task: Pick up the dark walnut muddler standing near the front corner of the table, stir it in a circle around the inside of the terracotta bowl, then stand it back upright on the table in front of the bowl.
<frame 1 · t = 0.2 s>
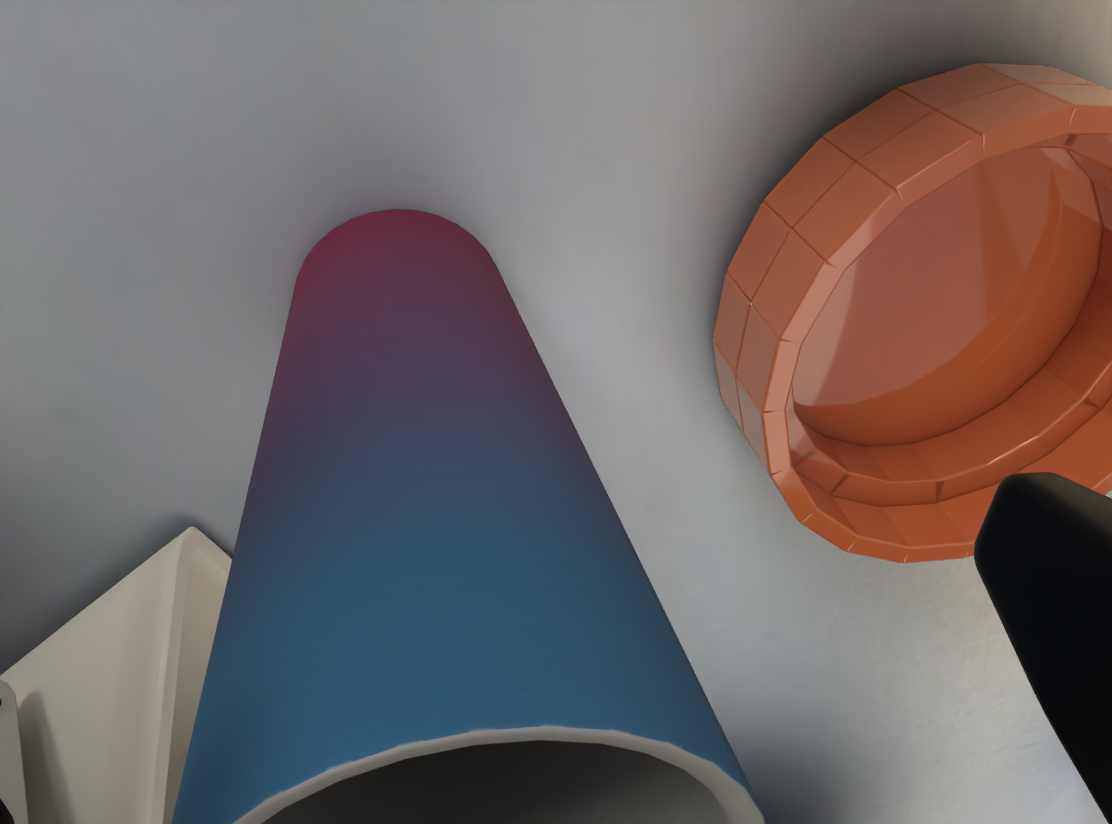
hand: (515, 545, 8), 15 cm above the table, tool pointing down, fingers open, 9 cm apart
bowl: (924, 293, 25), on the table
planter: (64, 780, 29), on the table, touching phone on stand
cup: (400, 303, 23), on the table
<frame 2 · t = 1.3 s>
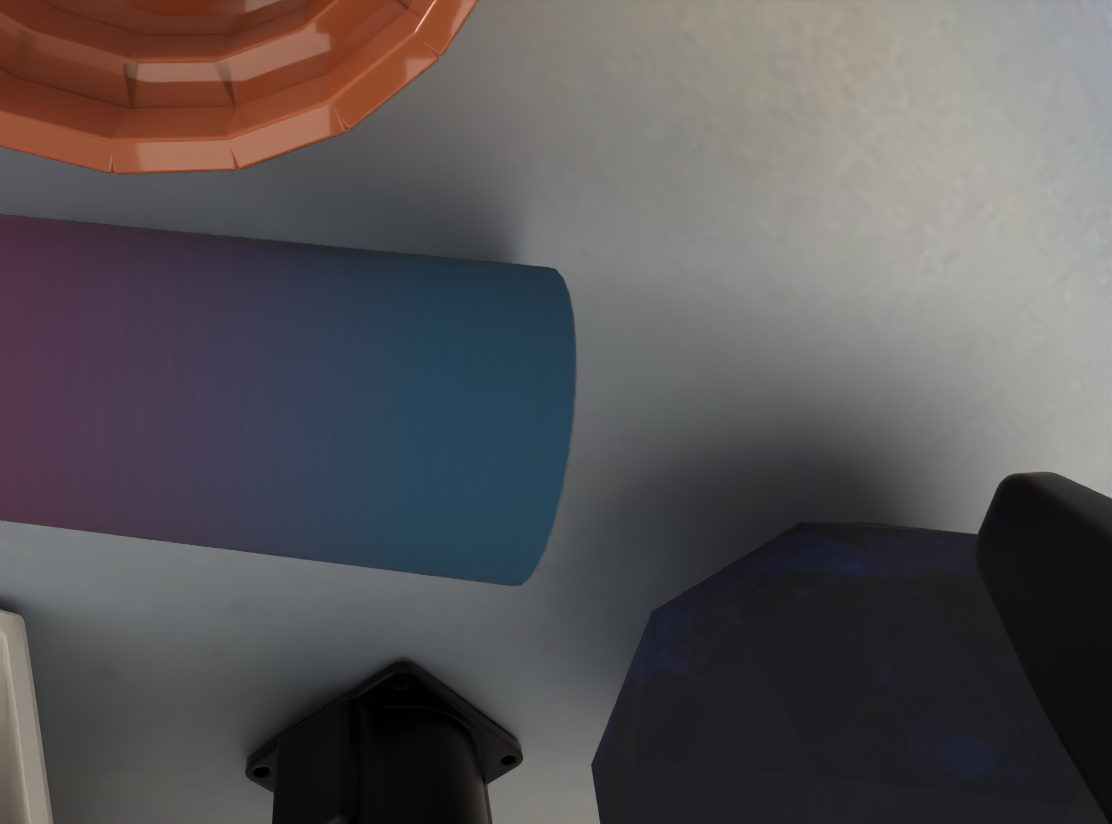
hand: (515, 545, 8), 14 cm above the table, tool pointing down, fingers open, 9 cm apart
decorative orb: (770, 601, 30), on the table
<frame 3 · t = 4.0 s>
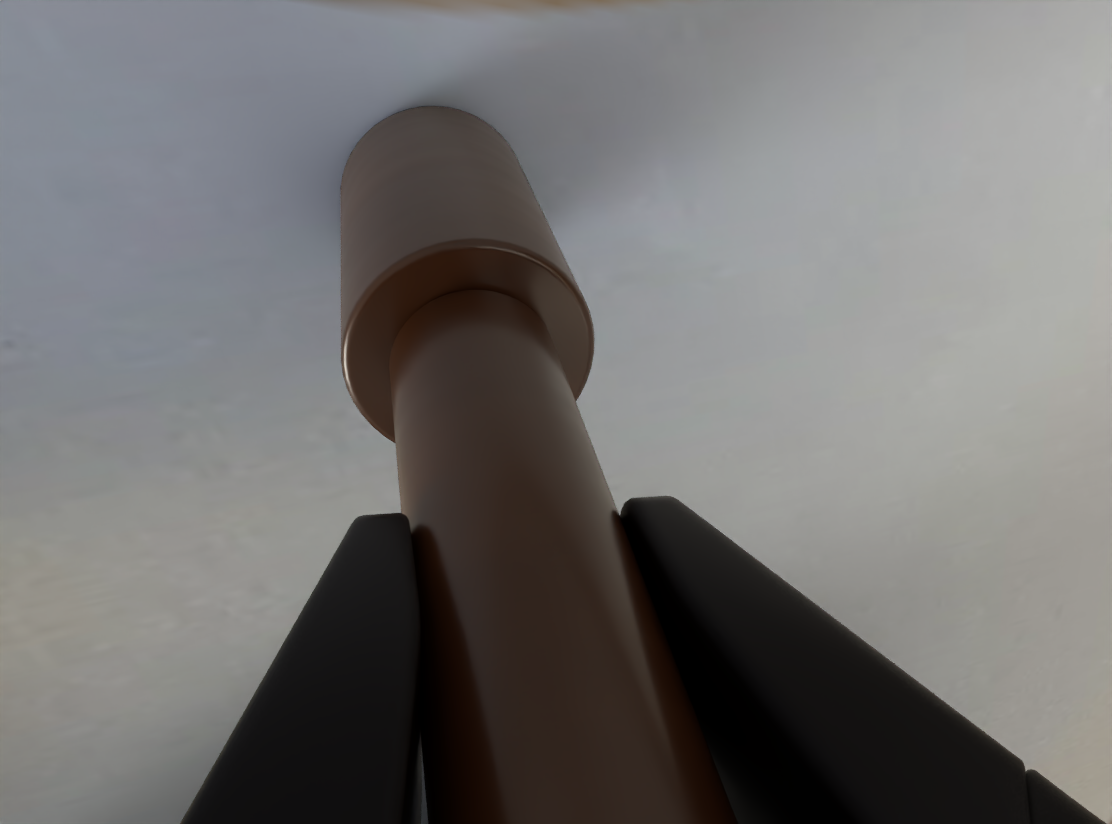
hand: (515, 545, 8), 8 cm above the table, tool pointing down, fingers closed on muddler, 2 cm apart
muddler: (434, 196, 14), on the table, touching gripper
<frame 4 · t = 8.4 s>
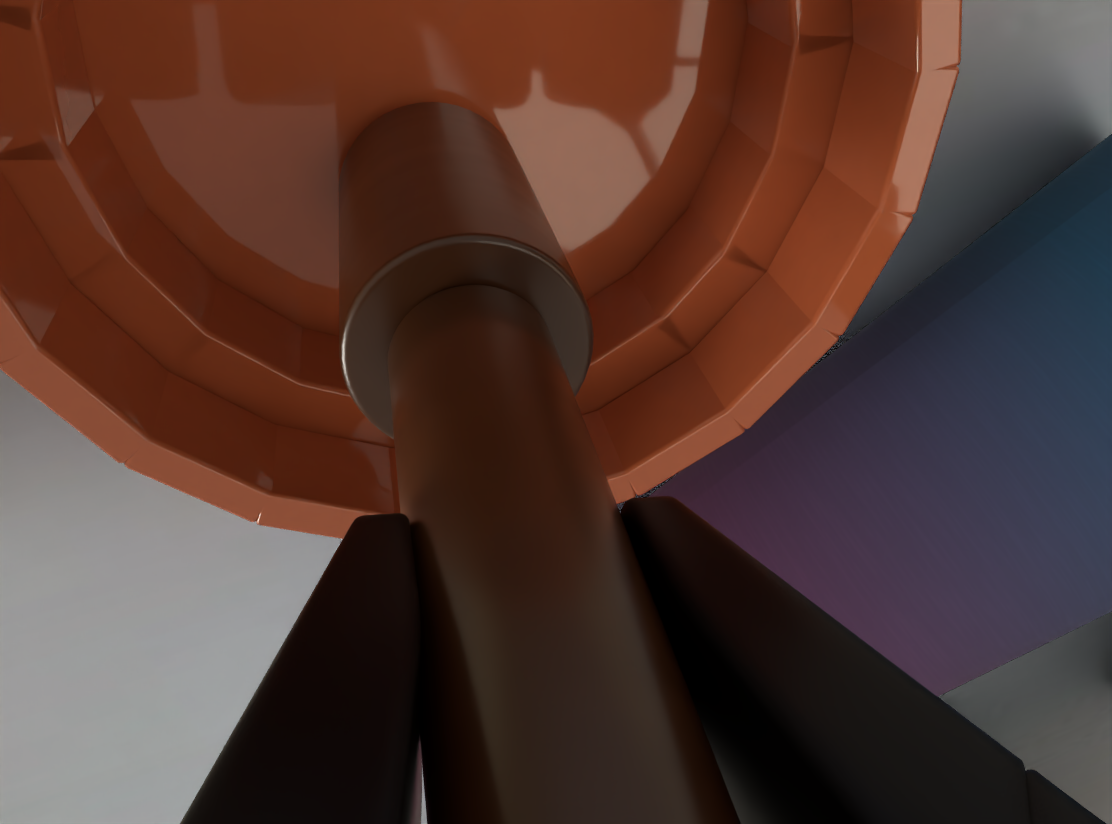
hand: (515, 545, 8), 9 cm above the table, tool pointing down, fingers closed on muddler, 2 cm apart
bowl: (431, 54, 14), on the table
muddler: (432, 193, 14), point 1 cm above the table, touching gripper
cup: (542, 738, 19), point 3 cm above the table
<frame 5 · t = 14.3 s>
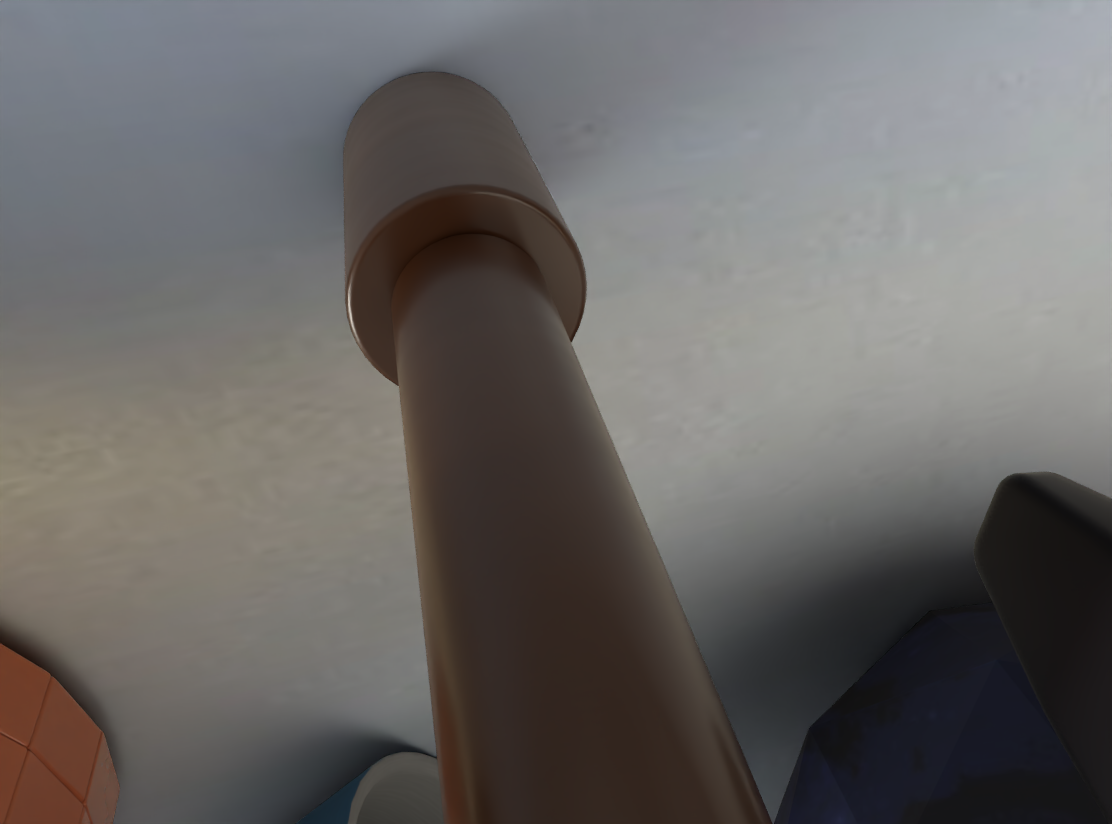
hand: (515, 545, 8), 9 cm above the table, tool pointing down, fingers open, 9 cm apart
muddler: (433, 161, 15), on the table
decorative orb: (935, 675, 25), on the table
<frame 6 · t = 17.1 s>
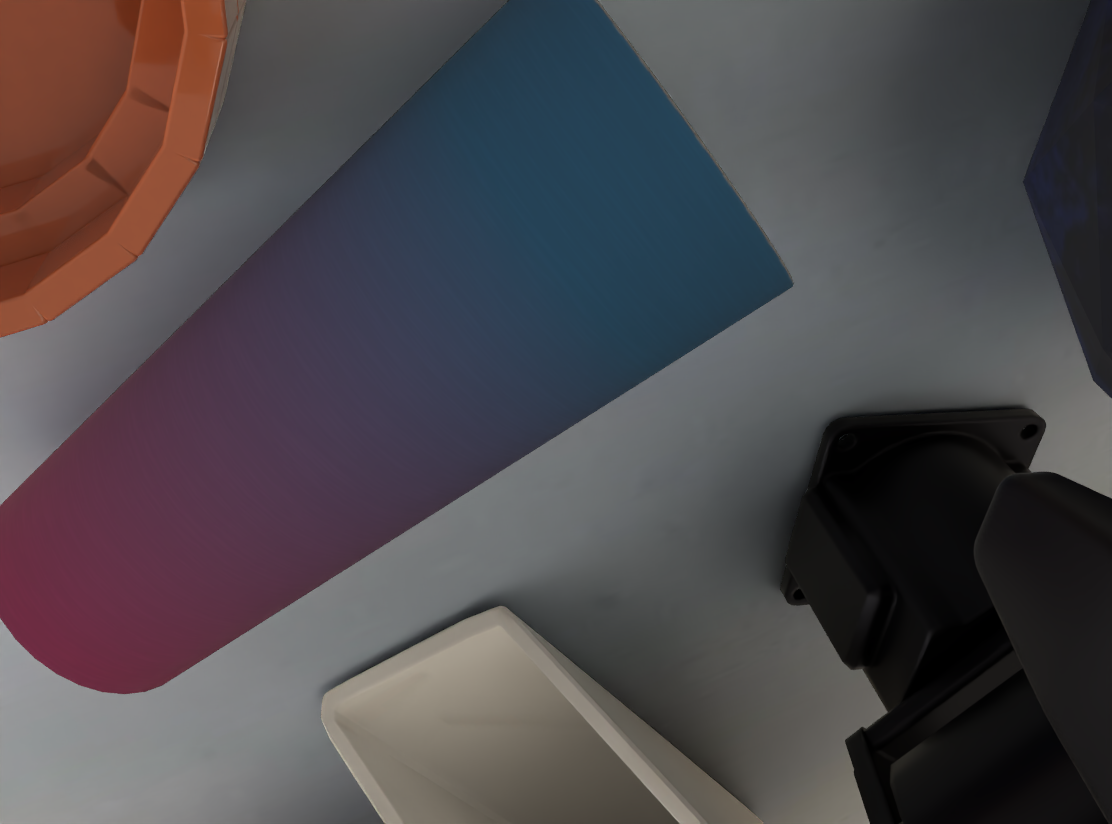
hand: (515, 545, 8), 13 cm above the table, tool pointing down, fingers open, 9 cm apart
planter: (640, 759, 32), on the table, touching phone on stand
cup: (90, 591, 20), point 3 cm above the table
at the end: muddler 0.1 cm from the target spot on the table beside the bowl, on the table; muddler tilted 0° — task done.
